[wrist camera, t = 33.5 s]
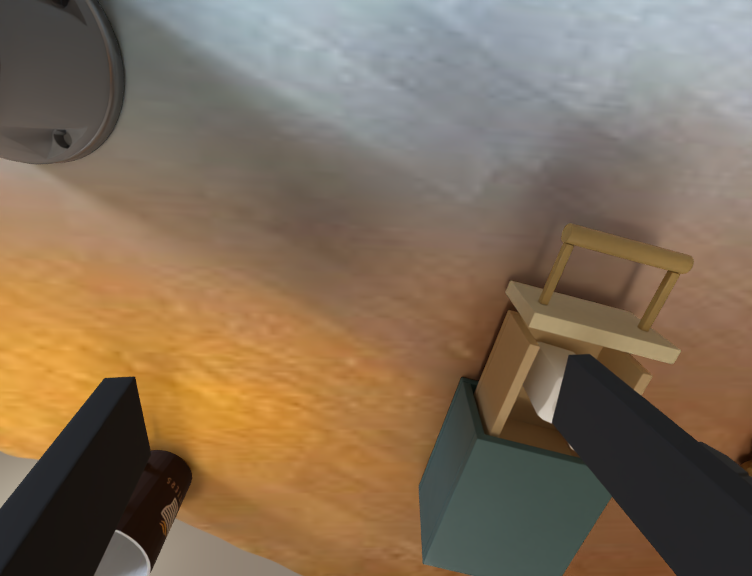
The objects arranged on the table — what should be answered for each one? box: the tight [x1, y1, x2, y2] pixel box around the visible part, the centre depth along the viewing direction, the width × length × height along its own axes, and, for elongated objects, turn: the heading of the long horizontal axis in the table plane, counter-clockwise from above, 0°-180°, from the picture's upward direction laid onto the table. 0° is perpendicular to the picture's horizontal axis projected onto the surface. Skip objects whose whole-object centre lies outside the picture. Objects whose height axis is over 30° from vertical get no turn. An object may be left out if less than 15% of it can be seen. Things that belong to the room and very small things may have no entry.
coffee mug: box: [94, 450, 192, 576], centre depth 40 cm, size 12×9×10 cm
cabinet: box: [419, 377, 612, 576], centre depth 38 cm, size 15×12×9 cm
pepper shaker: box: [523, 342, 576, 450], centre depth 31 cm, size 4×4×10 cm
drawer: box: [474, 223, 694, 458], centre depth 33 cm, size 20×11×7 cm, turn 166°
